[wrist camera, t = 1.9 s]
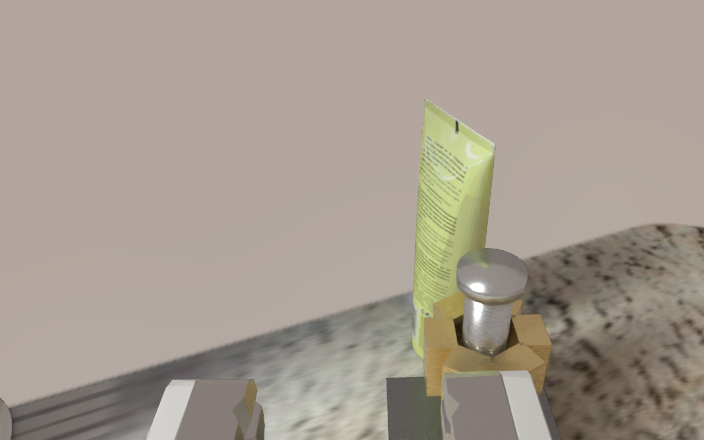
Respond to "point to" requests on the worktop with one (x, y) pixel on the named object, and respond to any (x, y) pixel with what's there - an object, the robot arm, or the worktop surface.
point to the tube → (447, 208)
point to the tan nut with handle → (449, 356)
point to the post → (466, 341)
